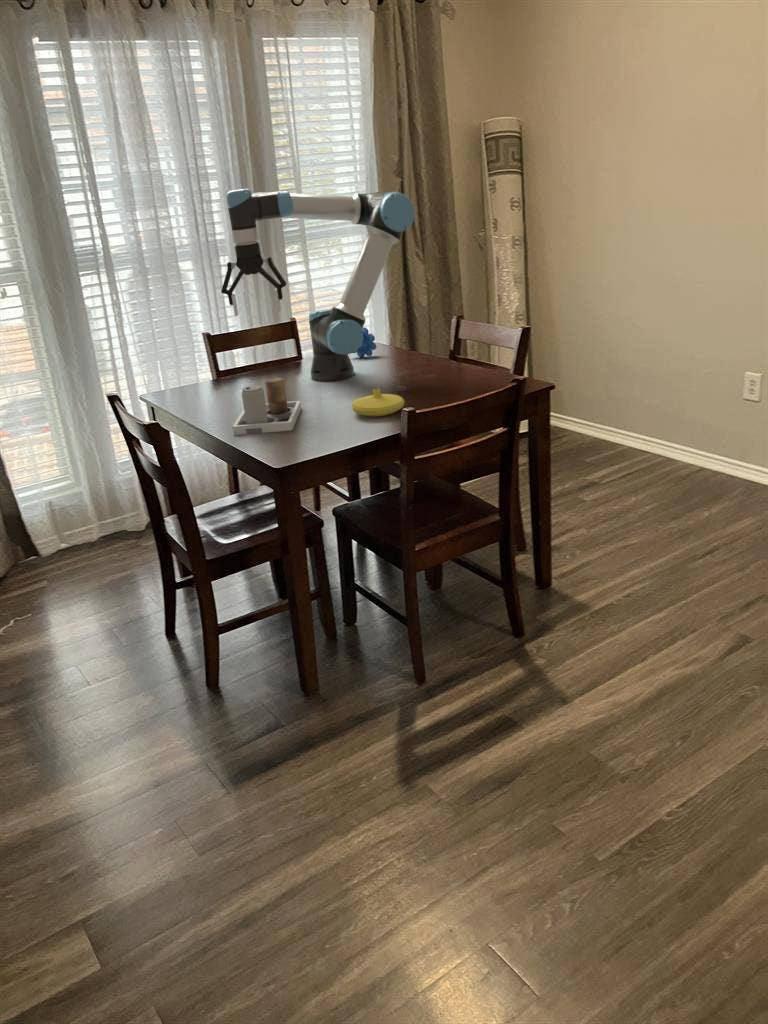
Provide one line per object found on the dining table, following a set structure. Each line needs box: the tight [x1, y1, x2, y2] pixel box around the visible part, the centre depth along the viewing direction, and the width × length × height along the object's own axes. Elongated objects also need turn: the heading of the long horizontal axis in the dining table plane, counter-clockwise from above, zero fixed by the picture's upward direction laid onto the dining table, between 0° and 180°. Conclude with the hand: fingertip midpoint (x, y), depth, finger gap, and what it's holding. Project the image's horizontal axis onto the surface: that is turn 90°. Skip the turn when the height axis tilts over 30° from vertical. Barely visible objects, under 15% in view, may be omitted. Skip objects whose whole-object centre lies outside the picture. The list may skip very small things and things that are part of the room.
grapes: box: [352, 326, 377, 358], centre depth 322 cm, size 12×7×12 cm, turn 85°
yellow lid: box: [351, 388, 405, 418], centre depth 255 cm, size 16×16×7 cm
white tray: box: [232, 400, 302, 436], centre depth 257 cm, size 17×22×2 cm
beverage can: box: [241, 384, 269, 425], centre depth 251 cm, size 6×6×12 cm
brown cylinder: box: [264, 377, 288, 415], centre depth 260 cm, size 6×6×11 cm
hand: (258, 312), depth 273 cm, fingers open, 13 cm apart
